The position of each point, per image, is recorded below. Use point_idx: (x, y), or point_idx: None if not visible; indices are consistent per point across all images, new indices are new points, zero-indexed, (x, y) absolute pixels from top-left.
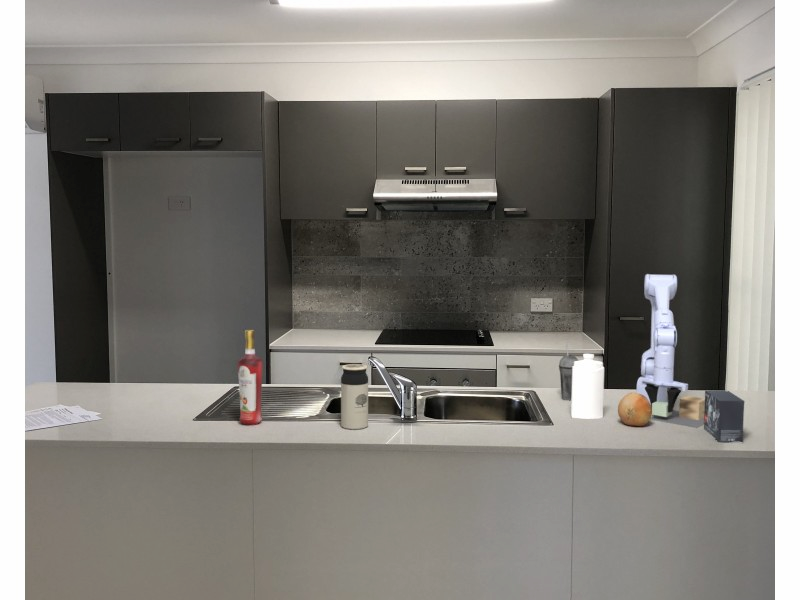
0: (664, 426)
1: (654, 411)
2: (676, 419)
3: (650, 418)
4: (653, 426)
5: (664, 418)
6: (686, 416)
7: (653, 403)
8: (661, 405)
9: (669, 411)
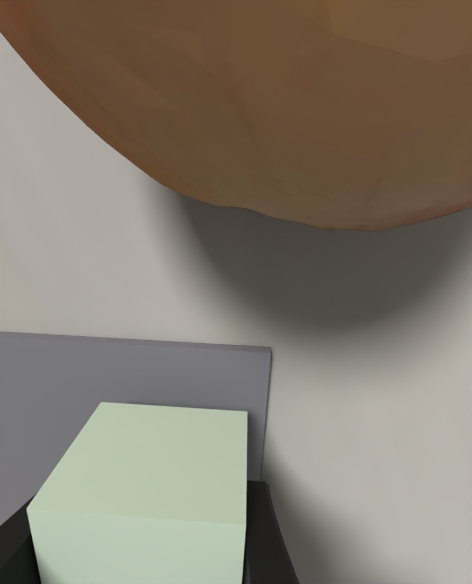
0: (63, 234)
1: (216, 434)
2: None
3: (255, 381)
4: None
5: None
6: None
7: (225, 524)
8: (106, 505)
9: None
